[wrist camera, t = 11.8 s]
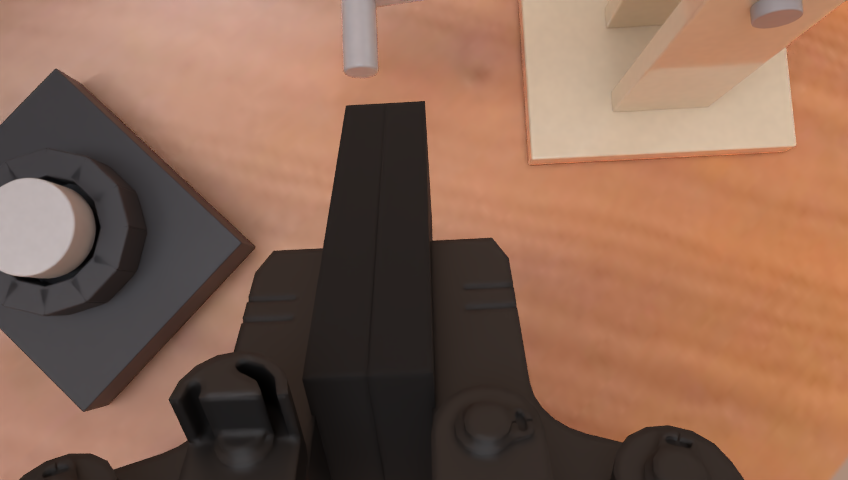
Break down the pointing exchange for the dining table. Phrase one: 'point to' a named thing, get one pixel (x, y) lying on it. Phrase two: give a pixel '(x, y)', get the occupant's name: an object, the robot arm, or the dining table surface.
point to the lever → (361, 36)
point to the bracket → (659, 77)
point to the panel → (108, 246)
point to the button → (43, 229)
